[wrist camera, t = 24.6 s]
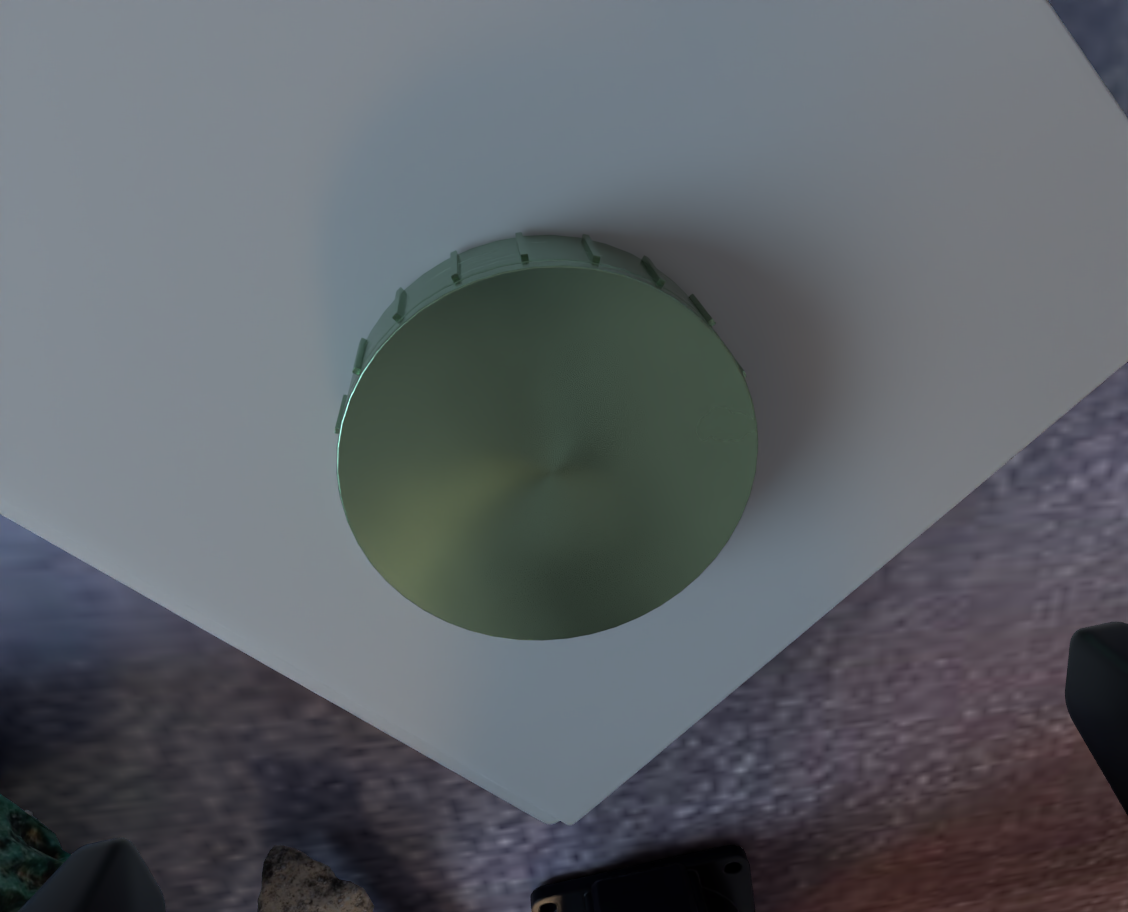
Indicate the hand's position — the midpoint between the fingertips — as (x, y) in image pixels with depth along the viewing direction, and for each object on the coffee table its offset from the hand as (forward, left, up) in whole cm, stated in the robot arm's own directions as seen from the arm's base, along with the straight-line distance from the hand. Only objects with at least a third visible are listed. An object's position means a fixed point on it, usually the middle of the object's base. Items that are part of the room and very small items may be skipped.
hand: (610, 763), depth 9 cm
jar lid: (0, 0, -7) cm, 7 cm away
